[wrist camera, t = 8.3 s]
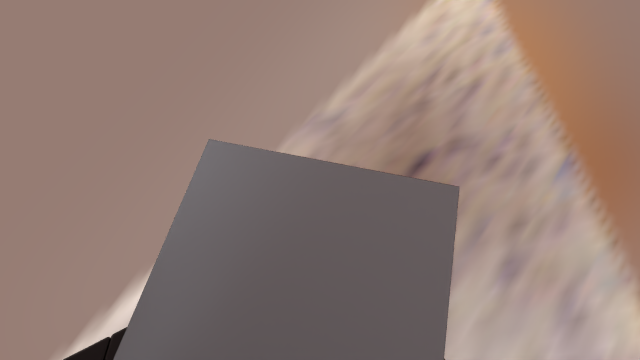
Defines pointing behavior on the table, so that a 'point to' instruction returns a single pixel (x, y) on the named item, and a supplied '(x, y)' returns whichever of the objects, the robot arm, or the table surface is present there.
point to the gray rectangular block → (298, 264)
